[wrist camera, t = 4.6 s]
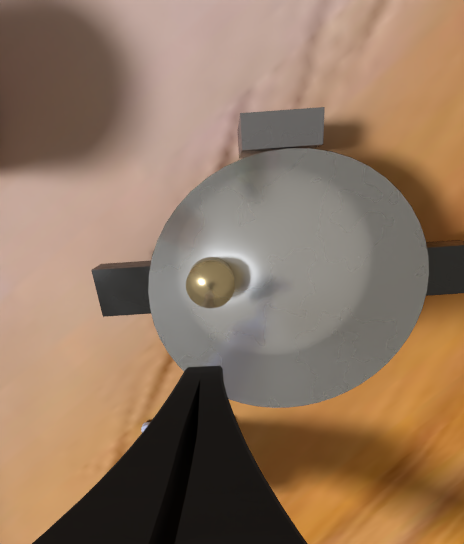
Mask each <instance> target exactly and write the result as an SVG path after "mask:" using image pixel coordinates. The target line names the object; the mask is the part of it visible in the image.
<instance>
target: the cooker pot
mask: <svg viewBox="0 0 464 544" xmlns="http://www.w3.org/2000/svg"><path fill="white" fill-rule="evenodd" d="M323 132H324V107H321V108H307V109H293V110H280V111H266V112H253V113H240V118H239V125H238V146H239V158H246V157H249V156H253V155H256V154H260V153H263V152H266V151H273V150H280V149H287V148H311V149H313V148H316V147H318V146H320V145H323ZM426 246H427V252H428V261H429V277H428V285H427V292H426V296H427V295H442V294H458V293H464V241H461V240H452V241H437V242H426ZM150 266H151V261H139V262H125V263H110V264H100V265H99V266H97V267H96V268H94V269H92V274H93V278H94V282H95V286H96V290H97V294H98V298H99V302H100V306H101V310H102V314H103V316H118V315H134V314H149V313H151V310H150V302H149V294H148V288H149V272H150Z"/></svg>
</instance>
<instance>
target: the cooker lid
mask: <svg viewBox="0 0 464 544" xmlns="http://www.w3.org/2000/svg"><path fill="white" fill-rule="evenodd" d="M428 277H429V261H428V252H427V246H426V240H425V237H424V234H423V231H422V228H421V225H420V222H419V220H418V218H417V217H416V215H415V213H414V211H413V209H412V207H411V205H410V204H409V203H408V201H407V200H406V199H405V197H404V196H403V195H402V193H401V192H400V191H399V190H398V189H397V188H396V187H395V186H394V185H393V184H392V183H391V182H390V181H389V180H388V179H387V178H385V177H384V176H382V175H381V174H380V173H378V172H377V171H375V170H374V169H372V168H371V167H369V166H367V165H365V164H363V163H361V162H359V161H357V160H355V159H353V158H351V157H347V156H344V155H341V154H338V153H334V152H331V151H324V150H317V149H311V148H287V149H280V150H273V151H266V152H263V153H260V154H256V155H253V156H249V157H246V158H243V159H241V160H239V161H237V162H234V163H232V164H230V165H228V166H226V167H224V168H222V169H221V170H219V171H217V172H216V173H214V174H213V175H211V176H210V177H208V178H207V179H205V180H204V181H203V182H202V183H201V184H199V185H198V186H197V187H196V188H195V189H193V190H192V191H191V192H190V193H189V194H188V195H187V196H186V198H185V199H184V200H183V201H182V202H181V203H180V204H179V205H178V206H177V208H176V209H175V211H174V212H173V214H172V215H171V217H170V218H169V220H168V221H167V222H166V224H165V226H164V228H163V230H162V232H161V234H160V236H159V239H158V241H157V244H156V247H155V250H154V253H153V256H152V260H151V266H150V272H149V288H148V294H149V302H150V310H151V314H152V318H153V321H154V325H155V328H156V330H157V332H158V335H159V337H160V339H161V341H162V343H163V345H164V346H165V348H166V350H167V351H168V353H169V354H170V356H171V357H172V358H173V359H174V361H175V362H176V363H177V365H178V366H179V367H180V368H181V369H182V370H183V371H185V370H186V369H187V368H188V367H201V366H221V367H222V368H223V380H224V385H225V389H226V393H227V397H228V399H230V400H233V401H237V402H240V403H244V404H249V405H253V406H260V407H271V408H281V407H296V406H304V405H309V404H313V403H318V402H321V401H324V400H327V399H330V398H333V397H336V396H338V395H340V394H343V393H345V392H347V391H349V390H351V389H353V388H354V387H356V386H358V385H360V384H362V383H363V382H364V381H366V380H367V379H369V378H370V377H372V376H373V375H374V374H376V373H377V372H378V371H379V370H380V369H381V368H382V367H384V366H385V365H386V364H387V363H388V362H389V361H390V360H391V359H392V358H393V356H394V355H395V354H396V353H397V352H398V351H399V350H400V348H401V347H402V345H403V344H404V343H405V341H406V340H407V338H408V337H409V335H410V333H411V332H412V330H413V328H414V326H415V324H416V322H417V320H418V317H419V315H420V313H421V310H422V308H423V304H424V300H425V296H426V292H427V285H428Z"/></svg>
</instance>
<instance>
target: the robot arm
mask: <svg viewBox="0 0 464 544" xmlns="http://www.w3.org/2000/svg"><path fill="white" fill-rule="evenodd" d="M141 430H142V434H141V435H140V436H139V438H138V439H137V440H136V441H135V442H134V444H133V445H132V446H131V447H130V448H129V450H128V451H127V452H126V453H125V454H124V455H123V456H122V457H121V459H120V460H119V461H118V462H117V463H116V464H115V465H114V466H113V467H112V468H111V469H110V470H109V471H108V472H107V474H106V475H105V476H104V477H103V478H102V479H101V480H100V481H99V482H98V483H97V484H96V485H95V486H94V487H93V488H92V489H91V490H90V491H89V492H88V493H87V494H86V495H85V496H84V497H83V498H82V499H81V500H80V501H79V502H78V503H76V504H75V505H74V506H73V507H72V508H71V509H70V510H69V511H68V512H67V513H66V514H64V515H63V516H62V517H61V518H60V519H59V520H58V521H57V522H56V523H55V524H54V525H52V526H51V527H50V528H49V529H48V530H47V531H46V532H45V533H44V534H42V535H41V536H40V537H39V538H38V539H37V540H36V541H35V542H33V543H32V544H307V542H306V541H305V540H304V538H303V537H302V535H301V534H300V533H299V531H298V530H297V528H296V527H295V525H294V524H293V522H292V521H291V519H290V518H289V516H288V515H287V513H286V512H285V510H284V509H283V507H282V505H281V504H280V502H279V501H278V499H277V497H276V496H275V494H274V492H273V491H272V489H271V487H270V486H269V484H268V483H267V481H266V479H265V478H264V476H263V474H262V472H261V471H260V469H259V467H258V465H257V463H256V461H255V460H254V458H253V456H252V454H251V452H250V450H249V448H248V446H247V444H246V442H245V440H244V437H243V435H242V433H241V431H240V428H239V426H238V424H237V421H236V419H235V416H234V414H233V411H232V408H231V405H230V403H229V400H228V397H227V393H226V389H225V385H224V380H223V368H222V367H221V366H201V367H188V368H187V369H186V370H185V371H184V373H183V375H182V376H181V378H180V380H179V382H178V383H177V385H176V386H175V388H174V389H173V391H172V393H171V394H170V396H169V397H168V399H167V400H166V401H165V403H164V404H163V406H162V407H161V409H160V410H159V412H158V413H157V414H156V416H155V417H154V418H153V420H152V421H151V422H146V423H144V424H143V425H142V428H141Z"/></svg>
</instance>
